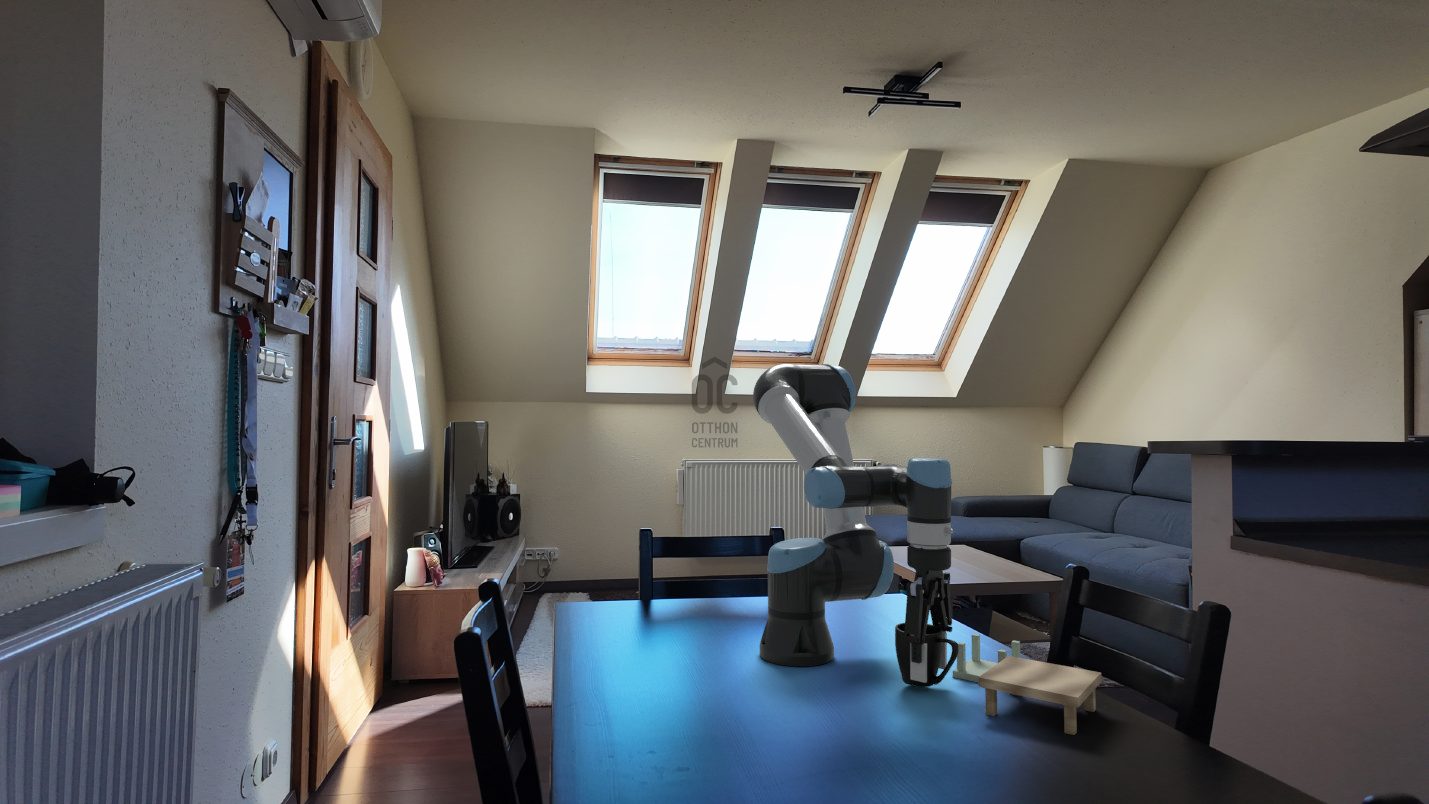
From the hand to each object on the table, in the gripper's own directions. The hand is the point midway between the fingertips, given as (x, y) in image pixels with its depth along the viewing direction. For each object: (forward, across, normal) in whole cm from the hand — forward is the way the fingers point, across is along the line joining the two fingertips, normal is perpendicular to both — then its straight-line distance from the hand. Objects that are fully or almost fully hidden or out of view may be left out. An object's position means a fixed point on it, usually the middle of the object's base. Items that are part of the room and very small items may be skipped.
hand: (928, 673), depth 135 cm
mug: (+2, -1, 0) cm, 2 cm away
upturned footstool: (+3, +15, -6) cm, 16 cm away
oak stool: (+3, +2, -18) cm, 19 cm away
